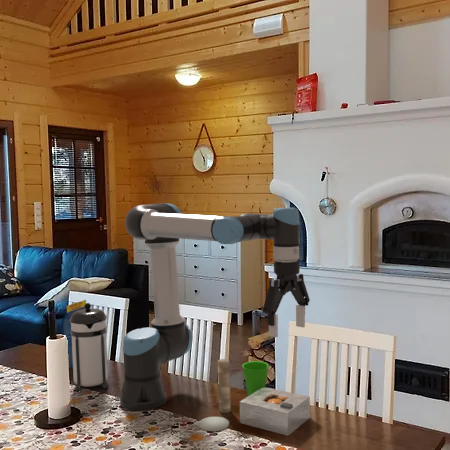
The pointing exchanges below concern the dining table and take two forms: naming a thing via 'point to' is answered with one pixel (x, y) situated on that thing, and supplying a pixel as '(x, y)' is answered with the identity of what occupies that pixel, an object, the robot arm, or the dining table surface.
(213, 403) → the dining table surface
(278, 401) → the plunger
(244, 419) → the grey block with hole
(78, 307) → the blue food package
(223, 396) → the dowel
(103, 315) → the coffee press
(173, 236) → the robot arm
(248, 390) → the cup
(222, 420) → the pad
